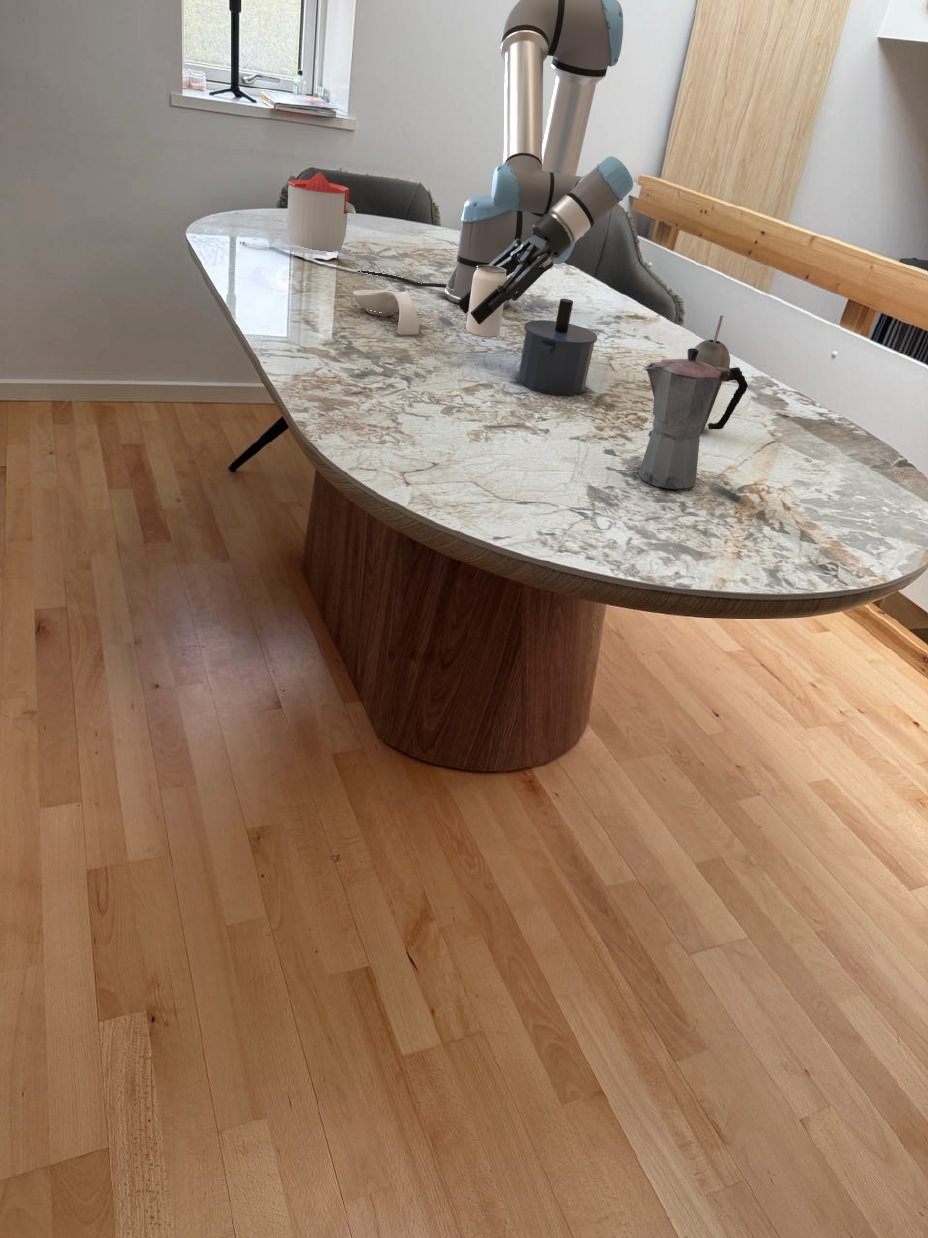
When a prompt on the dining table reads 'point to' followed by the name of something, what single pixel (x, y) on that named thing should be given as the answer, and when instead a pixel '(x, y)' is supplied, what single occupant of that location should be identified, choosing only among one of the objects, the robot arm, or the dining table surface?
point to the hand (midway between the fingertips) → (467, 313)
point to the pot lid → (561, 328)
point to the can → (482, 287)
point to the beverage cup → (713, 359)
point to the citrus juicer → (318, 213)
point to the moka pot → (682, 417)
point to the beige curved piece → (390, 307)
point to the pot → (554, 366)
